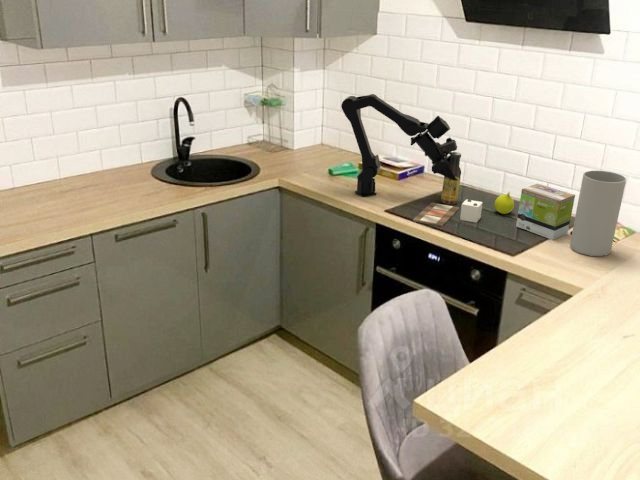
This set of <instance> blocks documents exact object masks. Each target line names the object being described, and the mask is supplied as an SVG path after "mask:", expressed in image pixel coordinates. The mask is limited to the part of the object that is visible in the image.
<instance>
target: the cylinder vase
mask: <svg viewBox="0 0 640 480" xmlns="http://www.w3.org/2000/svg"><path fill="white" fill-rule="evenodd" d="M626 183H627V178H626V176H624V175H622V174H620V173H617V172H616V173H615V172H611V171H606V170H587V171H585V172H583V174H582V178H581V184H580V185H581V186H580V191H579V195H578V201H577V206H576V212H575V215H574V216H575V217H574V222H573V225H572V226H573V227H572V232H571V237H570V242H569V246H570V248H571V249H572V250H573V251H575V252H577V254H578V253H579V254H580V255H584V254H586V255H585V256H588V255H591V256H590V257H604V256H603V255H605V256H607V254H608V255H609V254H611V251H612V248H613V242H614V238H615V234H616V229H617V224H618V220H619V216H620V210H621V207H622V202H623V197H624V192H625V187H626Z"/></svg>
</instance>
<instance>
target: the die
mask: <svg viewBox="0 0 640 480" xmlns="http://www.w3.org/2000/svg"><path fill="white" fill-rule="evenodd" d="M483 204H484V203H483V201H480V200H479V201H478V200H472V199H468V198H467V199H465V200H464V201H463V202H462V203H461V208H460V218H459V220H460V221H465V222H470V223H478V222H479V221H480V219H481V217H482V210H483Z"/></svg>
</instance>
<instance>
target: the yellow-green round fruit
mask: <svg viewBox="0 0 640 480" xmlns="http://www.w3.org/2000/svg"><path fill="white" fill-rule="evenodd" d="M514 208H515V200H514V199H513V198H512V197H511V196H510V191H508V192H507V194H500V195H499V196H498V197H496V199H495V200H494V209H495V210H496V211H497V212H498V213H499V214H502V215H506V214H509V213H511V212H512V211H513V210H514Z"/></svg>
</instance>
